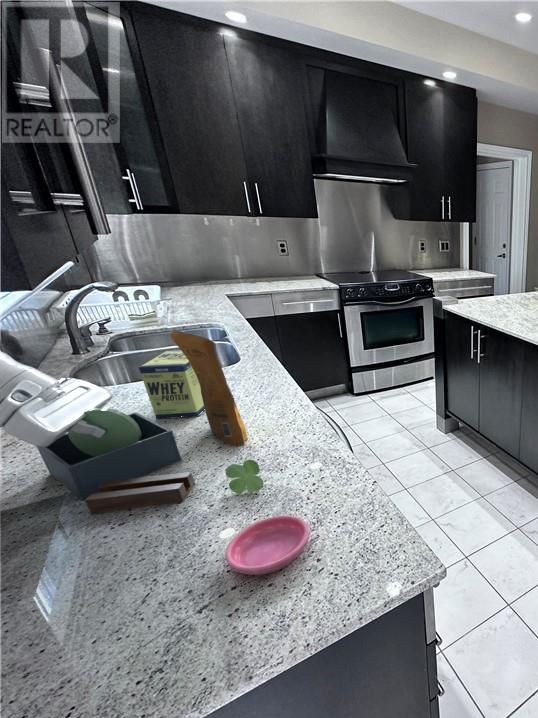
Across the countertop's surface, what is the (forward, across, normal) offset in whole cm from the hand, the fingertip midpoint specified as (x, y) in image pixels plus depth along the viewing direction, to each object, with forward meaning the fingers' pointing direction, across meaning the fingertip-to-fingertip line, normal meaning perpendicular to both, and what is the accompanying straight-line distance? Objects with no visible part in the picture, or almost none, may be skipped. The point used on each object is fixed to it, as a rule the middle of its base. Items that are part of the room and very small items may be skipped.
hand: (108, 431), depth 88 cm
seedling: (+28, +14, +14) cm, 34 cm away
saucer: (+34, +36, +20) cm, 53 cm away
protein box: (+8, -31, -5) cm, 32 cm away
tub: (+6, 0, -7) cm, 9 cm away
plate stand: (+14, +14, +1) cm, 20 cm away
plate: (0, 0, -1) cm, 1 cm away
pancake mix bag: (+19, -10, +6) cm, 22 cm away
